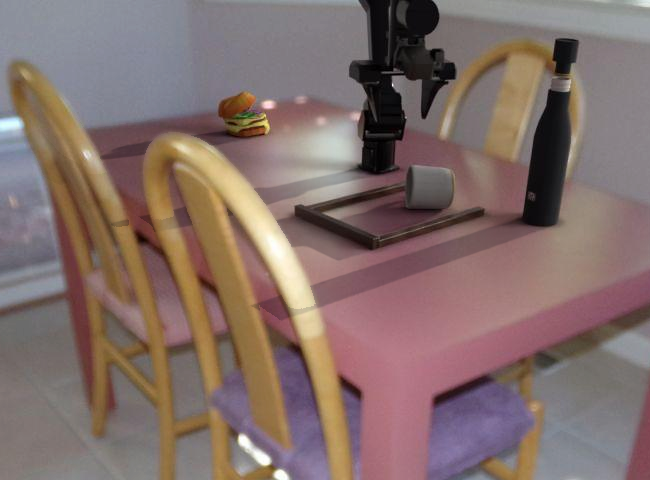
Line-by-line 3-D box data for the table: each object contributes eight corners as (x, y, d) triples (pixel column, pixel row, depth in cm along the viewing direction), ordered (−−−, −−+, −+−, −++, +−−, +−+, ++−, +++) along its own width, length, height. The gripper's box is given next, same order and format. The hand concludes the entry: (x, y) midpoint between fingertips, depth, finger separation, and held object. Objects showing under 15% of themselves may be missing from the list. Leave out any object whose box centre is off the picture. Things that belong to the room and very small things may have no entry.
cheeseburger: (267, 138, 181) (255, 94, 176) (223, 148, 182) (209, 104, 177) (273, 127, 190) (262, 84, 185) (230, 136, 191) (217, 93, 186)
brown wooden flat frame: (405, 186, 156) (406, 177, 155) (484, 214, 144) (485, 205, 143) (294, 215, 139) (294, 205, 138) (372, 249, 127) (373, 239, 126)
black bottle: (560, 217, 145) (590, 39, 129) (555, 228, 140) (585, 44, 124) (525, 212, 146) (550, 35, 131) (518, 222, 141) (544, 40, 126)
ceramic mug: (454, 214, 143) (458, 171, 140) (410, 214, 142) (413, 171, 138) (442, 196, 152) (445, 155, 149) (400, 196, 151) (402, 155, 147)
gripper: (373, 35, 128) (369, 134, 136) (475, 33, 134) (466, 128, 142) (348, 24, 136) (346, 118, 145) (446, 24, 143) (439, 114, 151)
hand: (400, 120), depth 145 cm, fingers open, 9 cm apart
